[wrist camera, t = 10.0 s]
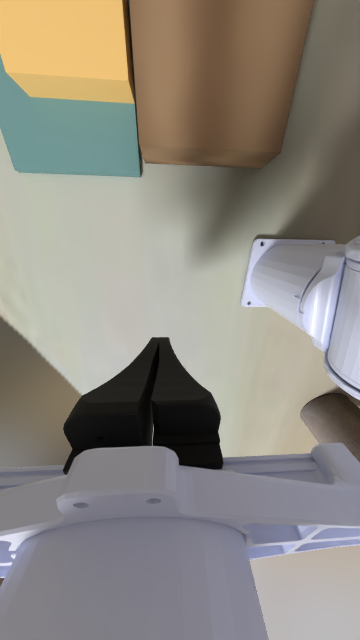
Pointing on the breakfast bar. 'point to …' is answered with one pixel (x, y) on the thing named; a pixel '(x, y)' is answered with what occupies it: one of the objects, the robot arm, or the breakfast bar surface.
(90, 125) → the mat
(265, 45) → the brown flat block
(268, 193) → the breakfast bar surface
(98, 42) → the tile
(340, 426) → the pillar candle
